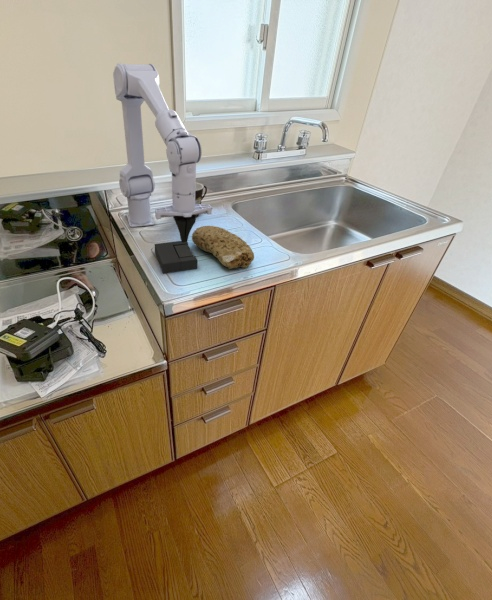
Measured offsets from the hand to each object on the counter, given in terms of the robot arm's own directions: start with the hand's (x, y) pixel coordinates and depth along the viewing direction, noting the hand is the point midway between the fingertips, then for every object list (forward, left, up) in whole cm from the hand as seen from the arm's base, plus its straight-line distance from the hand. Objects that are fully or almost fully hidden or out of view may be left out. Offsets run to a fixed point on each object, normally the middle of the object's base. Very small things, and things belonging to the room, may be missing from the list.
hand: (183, 240), depth 86 cm
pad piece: (0, 0, -6) cm, 6 cm away
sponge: (0, +11, -6) cm, 13 cm away
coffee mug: (-29, +12, -6) cm, 32 cm away
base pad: (0, -3, -6) cm, 7 cm away
